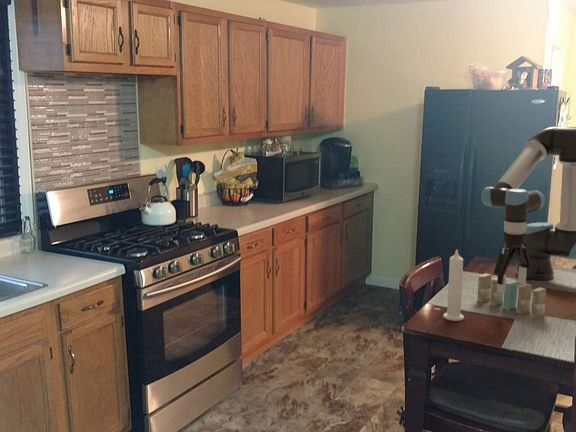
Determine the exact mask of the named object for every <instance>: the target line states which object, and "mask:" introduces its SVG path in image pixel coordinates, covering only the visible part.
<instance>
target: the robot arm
mask: <svg viewBox="0 0 576 432" xmlns="http://www.w3.org/2000/svg"><path fill="white" fill-rule="evenodd" d="M522 148H523V150H522V151H521V153H520V154H519V156H517V157H516V159H515V160H514V161H513V163H512V164H511V165H510V166H509V168H508V169H507V170H506V172H505V173H504V174H503V175H502V177H500V179H499V180H498V182H496V184H495V185H494V186H486V187H484V189H483V190H482V192H481V195H480V197H481V198H480V199H481V202H482V204H483V205H484V206H487V207H490V208H491V207H492V208H498V209H504V221H503V231H504V232H503V237H502V238H503V243H505V247H500V250H499V255H498V258H497V261H496V265H495V268H494V270H493V274H494V275H496V276H497V277H498V280H497V292H500V293H503V294H504V293H505V283H506V282H507V281H506V279H507V277H506V275H505V274H506V272H507V271H508V268H509V266H510V264H511V262H512V261H513V260H514V259H515V258H516V260H517V262H518V264H517V266H516V270H515V274H516V276H517V281H518V285H524V284H527V280H528V279H529V280H535V281H548V280H552V279H553V278H554V275H555V271H554V268H553V265H552V261H551V256H553V257H559V258H563V259H564V258H565V259H568V260H576V126H549V127H547V128H544V129H542V130H540V131H538V132H537V133H535V134H534V135H532V136H531V137H530V138H529V139H528V140H527V141H526V142H525V144H524V146H523V147H522ZM547 156H558V162H559V163H560V164H561V165H562V172H561V189H560V207H559V209H560V210H559V222H557V223H556V224H555V225H554V224H553V223H552V222H532V223H531V222H530V223H527V220H528V219H527V218H528V214H530V213H533V212H537V211H539V210H541V209H542V208H544V206H545V203H546V198H545V194H543V192H541V191H540V190H536V189H535V190H534V189H532V190H529V191H528V190H526V189H524V188H522V189H521V188H520V187H521V185H522V184H523V183H524V182H525V180H526V179H527V177H528V176H529V175H530V174H531V172H532V171H533V170H534V168H535V167H536V166H537V165H538V163H539V162H540V161H544V160H545V158H546V157H547ZM554 226H555V227H554Z"/></svg>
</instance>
